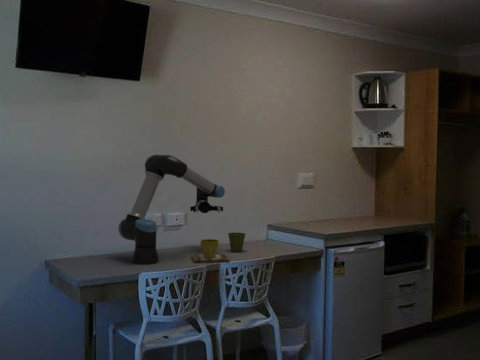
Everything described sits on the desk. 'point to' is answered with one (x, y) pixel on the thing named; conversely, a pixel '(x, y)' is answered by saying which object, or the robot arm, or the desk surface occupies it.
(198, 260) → the base plate
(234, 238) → the plant pot
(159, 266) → the desk surface
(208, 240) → the plant pot
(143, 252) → the robot arm
